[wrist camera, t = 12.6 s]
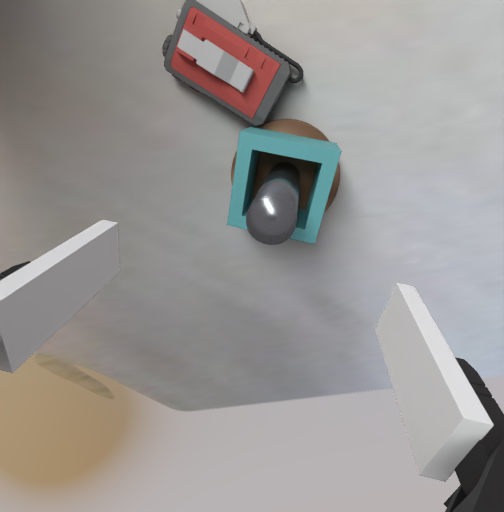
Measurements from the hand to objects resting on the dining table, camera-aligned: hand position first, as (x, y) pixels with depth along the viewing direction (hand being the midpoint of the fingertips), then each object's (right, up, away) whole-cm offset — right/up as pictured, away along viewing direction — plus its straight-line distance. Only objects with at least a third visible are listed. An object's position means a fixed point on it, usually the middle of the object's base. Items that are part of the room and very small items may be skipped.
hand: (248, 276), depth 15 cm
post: (+4, +10, +20) cm, 22 cm away
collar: (+4, +10, +20) cm, 22 cm away
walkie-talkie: (-4, +23, +17) cm, 29 cm away
